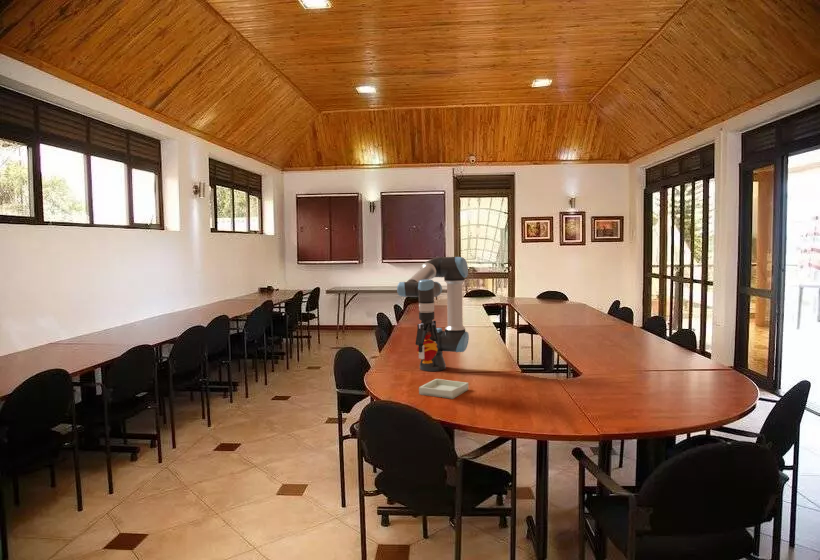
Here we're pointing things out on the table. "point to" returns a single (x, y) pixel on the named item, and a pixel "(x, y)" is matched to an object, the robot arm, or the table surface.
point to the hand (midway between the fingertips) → (427, 356)
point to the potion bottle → (428, 349)
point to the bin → (443, 388)
